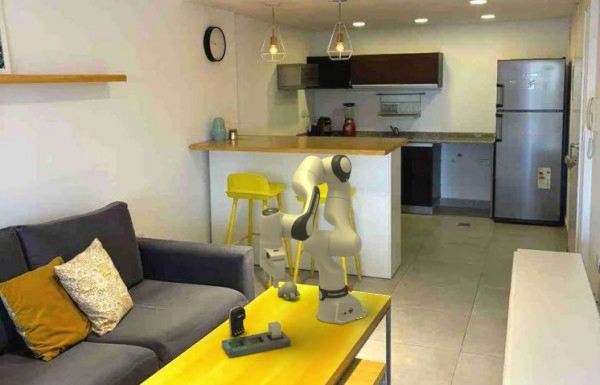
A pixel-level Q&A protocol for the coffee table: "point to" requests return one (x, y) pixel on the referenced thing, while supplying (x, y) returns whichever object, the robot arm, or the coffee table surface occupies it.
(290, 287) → the toy rhinoceros
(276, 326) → the steel block
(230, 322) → the battery charger
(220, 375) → the coffee table surface
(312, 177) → the robot arm
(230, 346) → the grey slotted board
